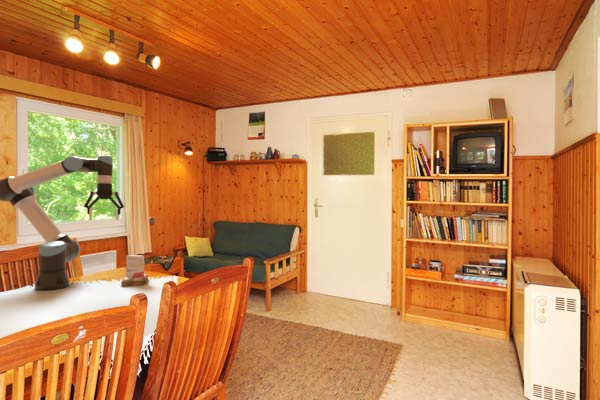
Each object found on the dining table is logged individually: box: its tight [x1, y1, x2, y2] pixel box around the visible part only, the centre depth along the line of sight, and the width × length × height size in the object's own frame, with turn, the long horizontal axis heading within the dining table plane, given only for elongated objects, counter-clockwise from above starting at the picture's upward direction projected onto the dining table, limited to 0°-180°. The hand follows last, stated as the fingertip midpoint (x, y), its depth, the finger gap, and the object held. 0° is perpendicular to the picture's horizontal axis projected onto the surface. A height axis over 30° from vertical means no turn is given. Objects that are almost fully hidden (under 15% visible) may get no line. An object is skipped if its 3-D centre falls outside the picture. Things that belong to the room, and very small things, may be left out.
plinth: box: [121, 273, 149, 287], centre depth 204 cm, size 12×14×4 cm
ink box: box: [125, 254, 145, 278], centre depth 204 cm, size 9×5×12 cm, turn 77°
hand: (104, 220), depth 207 cm, fingers open, 13 cm apart
